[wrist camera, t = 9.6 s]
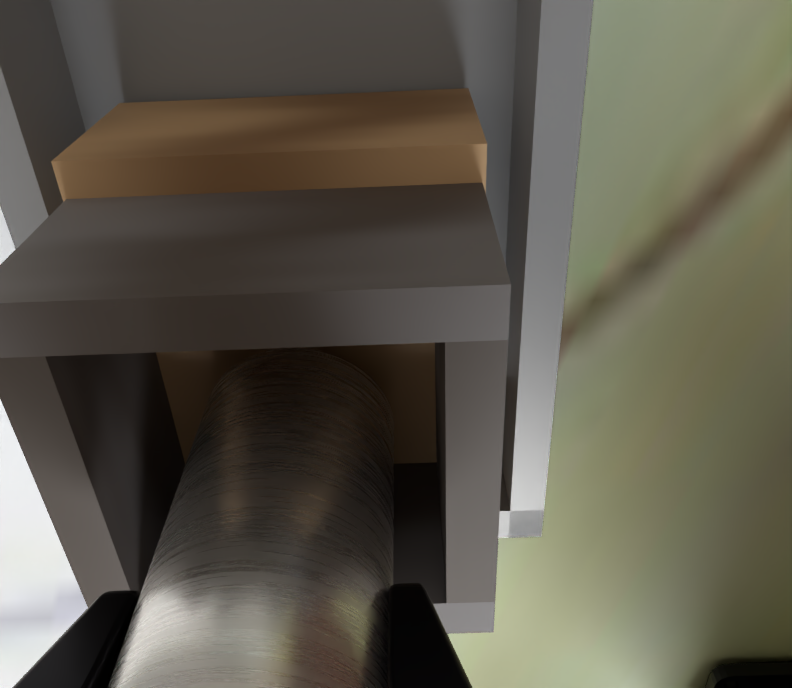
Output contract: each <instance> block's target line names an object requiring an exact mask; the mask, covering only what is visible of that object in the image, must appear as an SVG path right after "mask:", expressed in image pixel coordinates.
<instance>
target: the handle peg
mask: <svg viewBox="0 0 792 688" xmlns="http://www.w3.org/2000/svg"><path fill="white" fill-rule="evenodd" d="M393 521H394V420H393V413H392V410H391V407H390V403H389V401H388V399H387V397H386V395H385V394H384V392H383V391H382V389H381V388H380V386H379V385H378V384H377V383H376V382H375V381H374V380H373V378H372V377H370V376H369V375H368V374H367V373H366V372H365V371H363V370H362V369H361V368H359V367H358V366H356V365H354V364H353V363H351V362H349V361H347V360H345V359H343V358H341V357H338V356H336V355H333V354H330V353H327V352H323V351H319V350H314V349H306V348H281V349H273V350H269V351H264V352H261V353H258V354H255V355H252V356H250V357H248V358H246V359H243V360H241V361H240V362H238V363H237V364H235V365H234V366H232V367H231V368H230V369H229V370H228V371H226V372H225V373H224V374H223V375H222V377H221V378H220V379H219V380H218V381H217V383H216V384H215V386H214V388H213V389H212V391H211V394H210V397H209V399H208V402H207V405H206V408H205V410H204V413H203V416H202V419H201V422H200V425H199V428H198V430H197V433H196V436H195V439H194V442H193V445H192V448H191V450H190V453H189V456H188V459H187V462H186V465H185V468H184V470H183V473H182V476H181V479H180V482H179V485H178V488H177V490H176V493H175V496H174V499H173V502H172V505H171V508H170V510H169V513H168V516H167V519H166V522H165V525H164V528H163V530H162V533H161V536H160V539H159V542H158V545H157V548H156V550H155V553H154V556H153V559H152V562H151V565H150V568H149V570H148V573H147V576H146V579H145V582H144V585H143V587H142V590H141V593H140V596H139V599H138V602H137V605H136V607H135V610H134V613H133V616H132V619H131V622H130V625H129V627H128V630H127V633H126V636H125V639H124V642H123V645H122V647H121V650H120V653H119V656H118V659H117V662H116V665H115V667H114V670H113V673H112V676H111V679H110V682H109V685H108V687H107V688H388V687H387V649H388V606H389V588H390V587H391V586H392V585H393Z"/></svg>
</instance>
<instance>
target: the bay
mask: <svg viewBox="0 0 792 688" xmlns="http://www.w3.org/2000/svg"><path fill="white" fill-rule="evenodd" d="M592 10H593V0H0V206H1V209H2V212H3V214H4V217H5V220H6V223H7V226H8V229H9V231H10V234H11V237H12V240H13V243H14V245H15V248H16V249H17V248H18V247H19V246H20V245H21V244H22V243H23V242H24V241H25V240H26V239H27V238H28V237H29V236H30V235H31V234H32V233H33V232H34V231H35V230H36V229H37V228H38V227H39V226H40V225H41V224H42V223H43V222H44V221H45V220H46V219H47V218H48V217H49V216H50V215H51V214H52V213H53V212H54V211H55V210H56V209H57V208H58V207H59V206H60V205H61V204H62V203H63V199H62V196H61V193H60V189H59V186H58V183H57V180H56V176H55V173H54V170H53V166H52V163H51V161H52V160H53V159H54V158H56V157H57V156H58V155H59V154H60V153H62V152H63V151H64V150H65V149H66V148H67V147H69V146H70V145H71V144H72V143H73V142H74V141H76V140H77V139H78V138H79V137H80V136H81V135H83V134H84V133H85V132H86V131H87V130H89V129H90V128H91V127H92V126H93V125H94V124H96V123H97V122H98V121H99V120H100V119H101V118H103V117H104V116H105V115H106V114H107V113H108V112H110V111H111V110H112V109H113V108H114V107H115V106H117V105H118V104H119V103H133V102H156V101H180V100H203V99H227V98H250V97H274V96H297V95H321V94H345V93H368V92H392V91H415V90H439V89H462V88H469V91H470V94H471V97H472V100H473V103H474V106H475V109H476V112H477V115H478V118H479V121H480V124H481V127H482V130H483V133H484V136H485V139H486V142H487V166H486V197H487V200H488V204H489V208H490V211H491V215H492V218H493V222H494V225H495V229H496V233H497V236H498V240H499V243H500V247H501V250H502V254H503V257H504V261H505V265H506V268H507V272H508V275H509V279H510V282H511V295H510V315H509V335H508V355H507V375H506V394H505V414H504V434H503V454H502V474H501V493H500V513H499V533H498V538H515V537H542V527H543V517H544V506H545V496H546V486H547V475H548V465H549V455H550V444H551V434H552V423H553V413H554V403H555V392H556V382H557V372H558V361H559V351H560V341H561V330H562V320H563V310H564V299H565V289H566V279H567V268H568V258H569V248H570V237H571V227H572V217H573V206H574V196H575V186H576V175H577V165H578V155H579V144H580V134H581V124H582V113H583V103H584V93H585V82H586V72H587V61H588V51H589V41H590V30H591V20H592Z"/></svg>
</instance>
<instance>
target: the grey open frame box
mask: <svg viewBox="0 0 792 688" xmlns="http://www.w3.org/2000/svg"><path fill="white" fill-rule="evenodd" d="M51 163H52V166H53V170H54V173H55V176H56V180H57V183H58V186H59V189H60V193H61V196H62V199H63V203H62V204H61V205H60V206H59V207H58V208H57V209H56V210H55V211H54V212H53V213H52V214H51V215H50V216H49V217H48V218H47V219H46V220H45V221H44V222H43V223H42V224H41V225H40V226H39V227H38V228H37V229H36V230H35V231H34V232H33V233H32V234H31V235H30V236H29V237H28V238H27V239H26V240H25V241H24V242H23V243H22V244H21V245H20V246H19V247H18V248H17V249H16V250H15V251H14V252H13V253H12V254H11V255H10V256H9V257H8V258H7V259H6V260H5V261H4V262H3V263H2V264H1V265H0V399H1V401H2V404H3V406H4V408H5V411H6V413H7V415H8V418H9V420H10V423H11V425H12V427H13V430H14V432H15V435H16V437H17V439H18V442H19V444H20V446H21V449H22V451H23V454H24V456H25V458H26V461H27V463H28V465H29V468H30V470H31V473H32V475H33V477H34V480H35V482H36V485H37V487H38V489H39V492H40V494H41V496H42V499H43V501H44V504H45V506H46V508H47V511H48V513H49V516H50V518H51V520H52V523H53V525H54V527H55V530H56V532H57V535H58V537H59V539H60V542H61V544H62V546H63V549H64V551H65V554H66V556H67V558H68V561H69V563H70V566H71V568H72V570H73V573H74V575H75V577H76V580H77V582H78V585H79V587H80V589H81V592H82V594H83V597H84V599H85V601H86V604H87V606H88V608H89V607H90V606H91V604H92V603H93V602H94V601H95V600H96V599H97V598H98V597H99V596H100V595H102V594H103V593H105V592H108V591H123V590H135V591H138V592H139V593H141V590H142V587H143V585H144V582H145V579H146V576H147V573H148V570H149V568H150V565H151V562H152V559H153V556H154V553H155V550H156V548H157V545H158V542H159V539H160V536H161V533H162V530H163V528H164V525H165V522H166V519H167V516H168V513H169V510H170V508H171V505H172V502H173V499H174V496H175V493H176V490H177V488H178V485H179V482H180V479H181V476H182V473H183V470H184V468H185V465H186V462H187V459H188V456H189V453H190V450H191V448H192V445H193V442H194V439H195V436H196V433H197V430H198V428H199V425H200V422H201V419H202V416H203V413H204V410H205V408H206V405H207V402H208V399H209V397H210V394H211V391H212V389H213V388H214V386H215V384H216V383H217V381H218V380H219V379H220V378H221V377H222V375H223V374H224V373H225V372H226V371H228V370H229V369H230V368H231V367H232V366H234V365H235V364H237V363H238V362H240V361H241V360H243V359H246V358H248V357H250V356H252V355H255V354H258V353H261V352H264V351H269V350H273V349H281V348H306V349H314V350H319V351H323V352H327V353H330V354H333V355H336V356H338V357H341V358H343V359H345V360H347V361H349V362H351V363H353V364H354V365H356V366H358V367H359V368H361V369H362V370H363V371H365V372H366V373H367V374H368V375H369V376H370V377H372V378H373V380H374V381H375V382H376V383H377V384H378V385H379V386H380V388H381V389H382V391H383V392H384V394H385V395H386V397H387V399H388V401H389V403H390V407H391V410H392V413H393V420H394V521H393V584H399V583H420V584H422V585H423V586H424V587H425V589H426V590H427V592H428V595H429V597H430V599H431V601H432V603H433V605H434V607H435V609H436V612H437V614H438V616H439V618H440V620H441V622H442V624H443V626H444V629H445V631H446V633H483V632H494V612H495V592H496V573H497V553H498V533H499V513H500V493H501V474H502V454H503V434H504V414H505V394H506V375H507V355H508V335H509V315H510V295H511V282H510V279H509V275H508V272H507V268H506V265H505V261H504V257H503V254H502V250H501V247H500V243H499V240H498V236H497V233H496V229H495V225H494V222H493V218H492V215H491V211H490V208H489V204H488V200H487V197H486V166H487V142H486V139H485V136H484V133H483V130H482V127H481V124H480V121H479V118H478V115H477V112H476V109H475V106H474V103H473V100H472V97H471V94H470V91H469V88H462V89H439V90H415V91H392V92H368V93H345V94H321V95H297V96H274V97H250V98H227V99H203V100H180V101H156V102H133V103H119V104H118V105H117V106H115V107H114V108H113V109H112V110H111V111H110V112H108V113H107V114H106V115H105V116H104V117H103V118H101V119H100V120H99V121H98V122H97V123H96V124H94V125H93V126H92V127H91V128H90V129H89V130H87V131H86V132H85V133H84V134H83V135H81V136H80V137H79V138H78V139H77V140H76V141H74V142H73V143H72V144H71V145H70V146H69V147H67V148H66V149H65V150H64V151H63V152H62V153H60V154H59V155H58V156H57V157H56V158H54V159H53V160H52V161H51Z"/></svg>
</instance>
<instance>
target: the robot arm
mask: <svg viewBox="0 0 792 688" xmlns="http://www.w3.org/2000/svg"><path fill="white" fill-rule="evenodd" d="M139 596H140V593H139V592H138V591H135V590H123V591H108V592H105V593H103V594H102V595H100V596H99V597H98V598H97V599H96V600H95V601H94V602H93V603H92V604H91V606H90V607H89V608H88V609H87V610H86V611H85V612H84V613H83V614H82V615H81V616H80V617H79V618H78V619H77V620H76V621H75V622H74V623H73V624H72V626H71V627H70V628H69V629H68V630H67V631H66V632H65V633H64V634H63V635H62V636H61V637H60V638H59V639H58V640H57V641H56V642H55V643H54V645H53V646H52V647H51V648H50V649H49V650H48V651H47V652H46V653H45V654H44V655H43V656H42V657H41V658H40V659H39V660H38V661H37V662H36V664H35V665H34V666H33V667H32V668H31V669H30V670H29V671H28V672H27V673H26V674H25V675H24V676H23V677H22V678H21V679H20V680H19V681H18V683H17V684H16V685H15V686H14V687H13V688H107V687H108V685H109V682H110V679H111V676H112V673H113V670H114V667H115V665H116V662H117V659H118V656H119V653H120V650H121V647H122V645H123V642H124V639H125V636H126V633H127V630H128V627H129V625H130V622H131V619H132V616H133V613H134V610H135V607H136V605H137V602H138V599H139ZM387 687H388V688H472V686H471V684H470V682H469V679H468V677H467V675H466V673H465V671H464V669H463V667H462V665H461V663H460V660H459V658H458V656H457V654H456V652H455V650H454V648H453V646H452V643H451V641H450V639H449V637H448V635H447V633H446V631H445V629H444V626H443V624H442V622H441V620H440V618H439V616H438V614H437V612H436V609H435V607H434V605H433V603H432V601H431V599H430V597H429V595H428V592H427V590H426V589H425V587H424V586H423V585H422V584H420V583H399V584H393V585H392V586H391V587H390V588H389V606H388V649H387ZM705 688H792V662H785V663H746V664H725V665H721V666H718V667H716V668H715V669H713V670H712V672H711V673H710V675H709V678H708V681H707V684H706V687H705Z"/></svg>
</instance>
